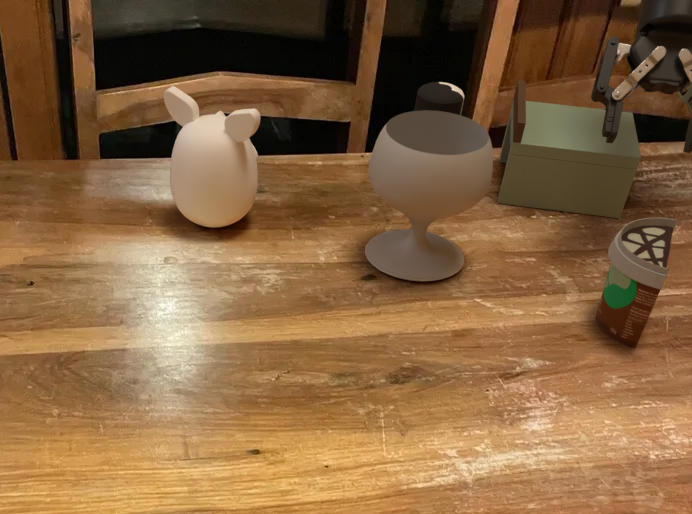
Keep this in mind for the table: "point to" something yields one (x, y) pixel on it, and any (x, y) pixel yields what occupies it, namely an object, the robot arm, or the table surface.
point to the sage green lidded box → (566, 158)
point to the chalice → (427, 188)
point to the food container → (634, 277)
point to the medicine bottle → (440, 98)
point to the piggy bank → (212, 162)
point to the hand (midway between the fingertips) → (650, 145)
